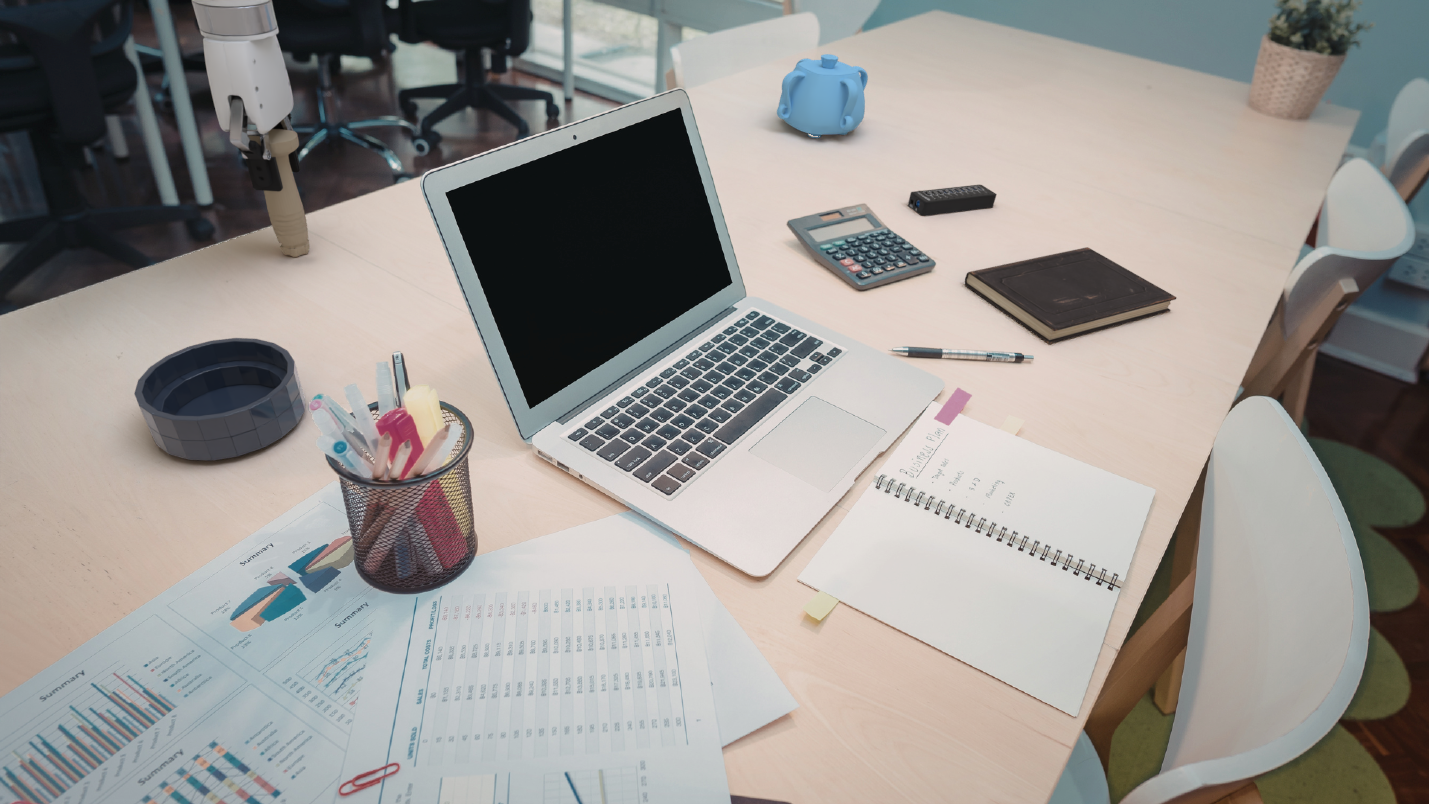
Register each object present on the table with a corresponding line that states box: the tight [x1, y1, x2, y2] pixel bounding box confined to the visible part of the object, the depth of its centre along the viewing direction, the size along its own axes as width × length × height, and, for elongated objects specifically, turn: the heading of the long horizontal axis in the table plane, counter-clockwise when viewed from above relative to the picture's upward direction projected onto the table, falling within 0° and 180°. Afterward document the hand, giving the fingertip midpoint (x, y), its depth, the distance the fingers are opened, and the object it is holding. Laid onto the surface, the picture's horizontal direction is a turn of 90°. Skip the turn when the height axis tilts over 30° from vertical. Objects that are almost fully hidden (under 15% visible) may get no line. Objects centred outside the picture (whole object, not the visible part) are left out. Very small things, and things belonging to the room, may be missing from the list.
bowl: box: [134, 337, 306, 461], centre depth 76 cm, size 13×13×5 cm
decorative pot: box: [776, 53, 869, 139], centre depth 155 cm, size 16×16×14 cm
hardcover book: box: [964, 246, 1178, 345], centre depth 110 cm, size 16×23×2 cm
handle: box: [249, 129, 310, 258], centre depth 99 cm, size 5×6×15 cm
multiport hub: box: [907, 184, 997, 217], centre depth 133 cm, size 4×14×2 cm, turn 113°
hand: (277, 178), depth 98 cm, fingers closed on handle, 5 cm apart
